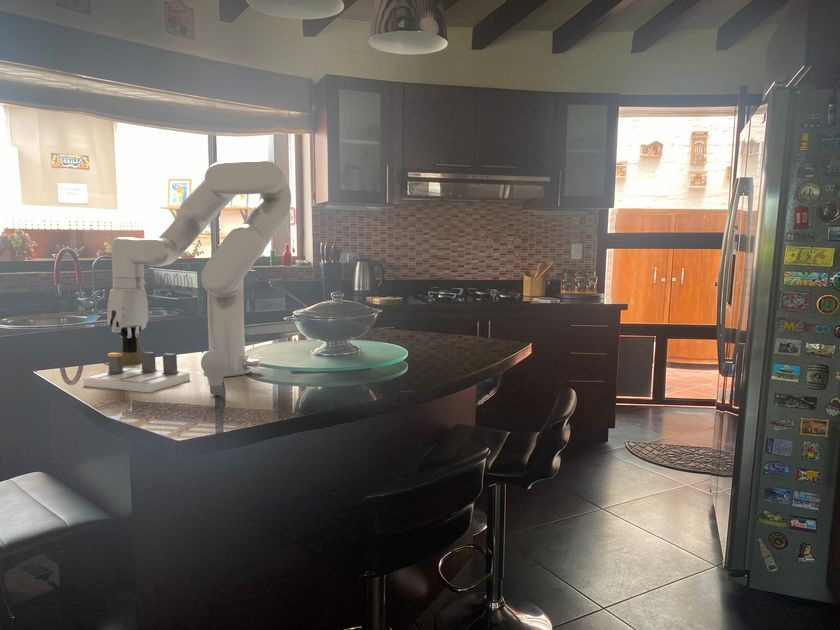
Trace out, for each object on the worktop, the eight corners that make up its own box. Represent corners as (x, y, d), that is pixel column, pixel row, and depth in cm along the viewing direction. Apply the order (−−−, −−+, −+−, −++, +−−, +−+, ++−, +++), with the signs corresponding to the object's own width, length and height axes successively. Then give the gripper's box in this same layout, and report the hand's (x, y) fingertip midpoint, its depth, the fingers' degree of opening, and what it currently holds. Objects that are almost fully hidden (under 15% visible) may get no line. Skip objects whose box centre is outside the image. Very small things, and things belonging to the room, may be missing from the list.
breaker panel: (127, 374, 162) (126, 367, 162) (189, 380, 155) (189, 372, 155) (83, 385, 149) (82, 377, 149) (149, 392, 142) (149, 384, 142)
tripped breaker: (116, 371, 156) (115, 352, 155) (125, 371, 155) (124, 352, 154) (106, 373, 153) (105, 354, 152) (115, 374, 152) (114, 354, 151)
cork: (147, 361, 182) (145, 325, 181) (135, 364, 176) (133, 328, 175) (128, 360, 182) (126, 325, 181) (116, 364, 176) (114, 328, 175)
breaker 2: (170, 371, 155) (169, 352, 155) (179, 372, 154) (178, 353, 154) (161, 374, 152) (160, 354, 152) (170, 374, 151) (169, 355, 151)
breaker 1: (149, 370, 158) (148, 351, 157) (158, 370, 157) (157, 351, 156) (139, 372, 155) (138, 353, 154) (148, 373, 154) (147, 353, 153)
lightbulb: (214, 400, 135) (212, 352, 133) (196, 396, 138) (194, 350, 137) (235, 394, 140) (233, 349, 139) (218, 391, 143) (216, 346, 142)
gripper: (139, 282, 165) (140, 347, 167) (94, 284, 151) (95, 355, 153) (160, 283, 163) (161, 349, 165) (117, 286, 149) (118, 357, 151)
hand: (129, 351), depth 159 cm, fingers closed
